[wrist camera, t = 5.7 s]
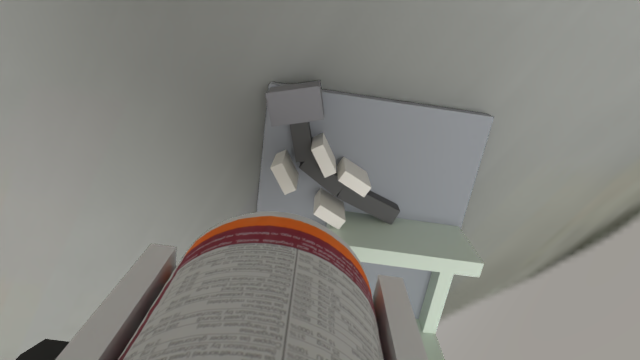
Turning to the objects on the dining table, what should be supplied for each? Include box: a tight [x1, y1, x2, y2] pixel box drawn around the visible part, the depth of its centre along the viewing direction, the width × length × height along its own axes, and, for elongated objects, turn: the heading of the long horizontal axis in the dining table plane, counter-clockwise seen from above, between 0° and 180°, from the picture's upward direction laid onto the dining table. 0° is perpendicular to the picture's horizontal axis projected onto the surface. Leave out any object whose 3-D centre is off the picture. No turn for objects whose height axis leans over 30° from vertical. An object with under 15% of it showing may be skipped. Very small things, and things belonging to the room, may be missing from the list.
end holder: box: [326, 211, 484, 360], centre depth 28 cm, size 10×10×5 cm
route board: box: [257, 80, 494, 319], centre depth 28 cm, size 19×15×4 cm
